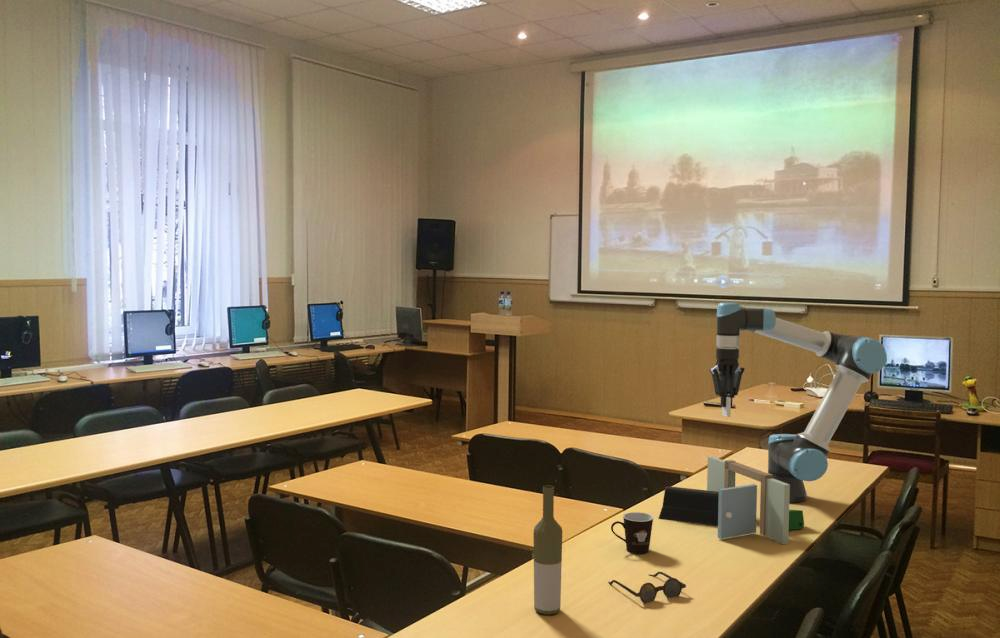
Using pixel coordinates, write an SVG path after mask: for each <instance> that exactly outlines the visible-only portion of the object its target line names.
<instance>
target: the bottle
mask: <svg viewBox="0 0 1000 638" xmlns="http://www.w3.org/2000/svg"><path fill="white" fill-rule="evenodd" d="M554 495H555V486H554V485H549V484H547V485H543V486H542V517H541V519H540V521H538V522H537V524H536V525H535V526H534V527H533V528H534V529H533V601H534V602H533V607H534V611H535V612H537V613H539V614H542V615H554V614H558V613H559V612H560V611H561V602H562V601H561V597H562V596H561V595H562V594H561V593H562V564H563V563H562V561H563V560H562V559H563V556H562V555H563V527H562V526H561V525H560V524H559V523H558V521H557V520H556V519H555V518H554V512H555V511H554V509H555V507H554V506H555V505H554V503H555V501H554V497H555V496H554Z"/></svg>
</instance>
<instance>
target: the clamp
mask: <svg viewBox="0 0 1000 638" xmlns="http://www.w3.org/2000/svg"><path fill="white" fill-rule="evenodd" d="M804 527H805V519H804V512H803V510H801V509H789V531H791V530H802V529H803V528H804Z"/></svg>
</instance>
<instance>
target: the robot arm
mask: <svg viewBox="0 0 1000 638" xmlns="http://www.w3.org/2000/svg"><path fill="white" fill-rule="evenodd" d="M716 309H717V310H716V340H715V341H716V349H715V359H716V363H715V366H714V367H710V368H709V372H710V374H711V377H712V381H713V382H712V383H713V387H714V392H715V393H714V394H715V396H718V397H720V407H721V416H723V417H725V418H730V417H731V407H733V399H734V398H735V397H736V396H738V395H739V390H740V386H741V381H742V377H743V374H744V372H745V369H746V368H745V367H742V366H740V363H739V359H740V349H739V347H740V334H741V333H740V331H748V332H752V333H756V334H758V335H761V336H764V337H768V338H771V339H774V340H777V341H779V342H783V343H786V344H789V345H792V346H795V347H798V348H801V349H805V350H807V351H810V352H814V353H815V355H816V357H817V356H818V357H820V358H822V359H826V360H828V361H830V362H832V363H835V370H836V373H835V374H834V376H833V378H832V380H831V382H830V383H829V386H828V388H827V389H826V391H825V393H824V394H823V396H822V399H821V400H820V403H819V404H818V406H817V407H816V409H815V411H814V413H813V415H812V417H811V419H809V420H810V421H809V422H808V424H807V425H806V428H805V429H804V431H803V432H800V433H797V434H794V433H793V434H790V433H778V434H775V433H773V434H771V435H769V437H768V443H767V445H768V447H767V448H768V457H767V459H768V460H767V463H768V464H767V473H770V474H772V475H773V479H776V480H779V481H781V482H784V483H787V484H790V497H789V504H790V503H802V502H805V501H807V495H808V493H807V490H806V487H805V484H804V483H805V482H814V481H817V480H819V479H821V478H822V477H823V476H825V474H826V472H827V470H828V467H829V462H828V458H827V457H828V455H829V454H830V451H831V450H830V447H829V443H830V441H831V439H832V437H833V436H834V434H835V432H836V430H837V429H838V428H839V425H840V423H841V421H842V419H843V418H844V416H845V414H846V412H847V411H848V409H849V407H850V405H851V403H852V402H853V400H854V399H855V396H856V394H857V392H858V390H859V389H860V387H861V385H862V384H864V383H867V382H869V381H870V379H871V377H872V375H873V374H874V373H877V372H880V371H881V370H882V369H884V367H885V365H886V364H887V363H886V362H887V359H888V358H887V357H888V356H887V352H886V348H885V347H884V345H883V344H882V342H880V341H879V340H877V339H875V338H871V337H869V336H858V335H854V334H852V335H851V334H841V333H835V332H831V331H828V330H825V331H823V332H822V331H818V330H816V329H812V328H809V327H806V326H803V325H801V324H797V323H794V322H791V321H789V320H784V319H782V318H779V317H776V312H775V311H774V309H772V308H764V307H763V308H755V307H746V306H745V307H744V306H741V304H740V302H719V303H718V305H717V308H716Z"/></svg>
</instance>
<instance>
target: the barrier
mask: <svg viewBox="0 0 1000 638" xmlns="http://www.w3.org/2000/svg"><path fill="white" fill-rule="evenodd" d="M663 493H664V494H663V500H662V507H661V510H660V513H659V517H658V520H665V521H673V522H680V523H686V524H696V525H704V526H711V527H718V502H719V492H717V491H707V489H706V490H705V489H697V488H689V487H688V488H687V487H678V486H669V485H668V486H666V487H665V488H664V492H663Z"/></svg>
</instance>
